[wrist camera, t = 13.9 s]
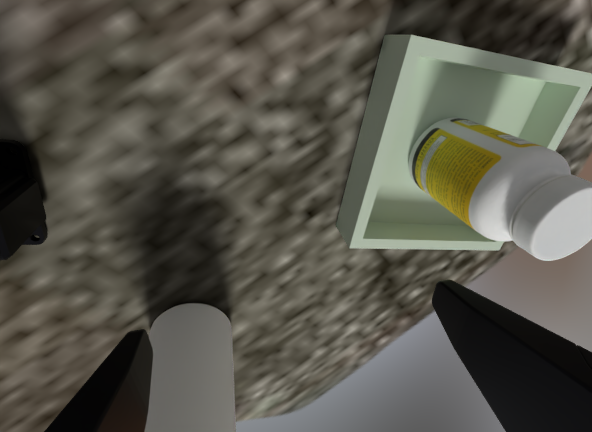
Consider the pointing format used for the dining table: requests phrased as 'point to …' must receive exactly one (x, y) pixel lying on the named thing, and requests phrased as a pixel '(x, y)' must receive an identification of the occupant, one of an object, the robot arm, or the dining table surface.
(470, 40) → the dining table surface
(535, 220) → the supplement bottle
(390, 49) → the tray
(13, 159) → the robot arm
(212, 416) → the can
